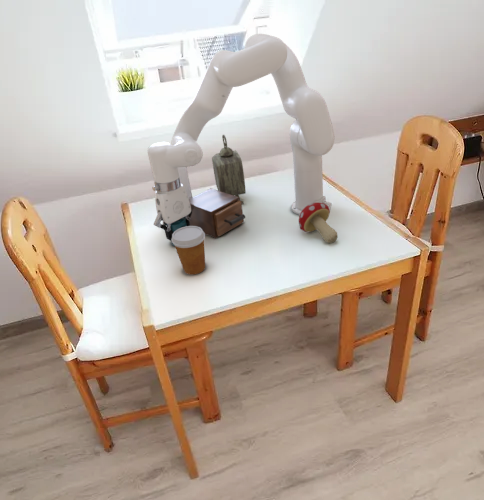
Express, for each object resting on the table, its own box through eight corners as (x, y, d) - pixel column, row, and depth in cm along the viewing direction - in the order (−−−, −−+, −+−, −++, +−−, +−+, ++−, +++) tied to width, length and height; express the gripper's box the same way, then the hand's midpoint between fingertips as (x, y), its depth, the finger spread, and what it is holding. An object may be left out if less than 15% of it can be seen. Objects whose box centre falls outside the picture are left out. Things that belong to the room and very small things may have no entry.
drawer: (252, 225, 147) (249, 204, 143) (227, 239, 140) (224, 218, 136) (218, 212, 157) (214, 192, 153) (193, 225, 150) (189, 205, 146)
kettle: (197, 242, 142) (192, 215, 137) (183, 250, 139) (177, 223, 134) (176, 233, 149) (170, 207, 144) (162, 240, 145) (155, 214, 140)
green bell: (247, 205, 162) (239, 139, 148) (223, 210, 160) (213, 143, 147) (239, 190, 174) (231, 128, 161) (217, 195, 172) (207, 132, 159)
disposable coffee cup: (197, 281, 124) (189, 244, 117) (171, 273, 128) (163, 237, 122) (217, 263, 130) (211, 228, 124) (192, 257, 135) (185, 222, 129)
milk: (195, 212, 162) (184, 154, 150) (181, 218, 158) (170, 159, 147) (185, 207, 166) (174, 151, 154) (172, 213, 162) (160, 156, 151)
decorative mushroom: (344, 221, 127) (314, 189, 135) (314, 246, 128) (286, 213, 136) (353, 235, 136) (325, 205, 144) (325, 258, 137) (298, 227, 145)
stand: (242, 222, 151) (239, 197, 146) (215, 238, 143) (211, 212, 138) (214, 212, 159) (210, 188, 154) (188, 226, 152) (183, 201, 147)
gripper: (151, 197, 126) (164, 251, 135) (197, 176, 136) (206, 227, 145) (137, 191, 130) (150, 243, 140) (182, 172, 140) (192, 221, 150)
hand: (179, 235), depth 142 cm, fingers closed on kettle, 6 cm apart
